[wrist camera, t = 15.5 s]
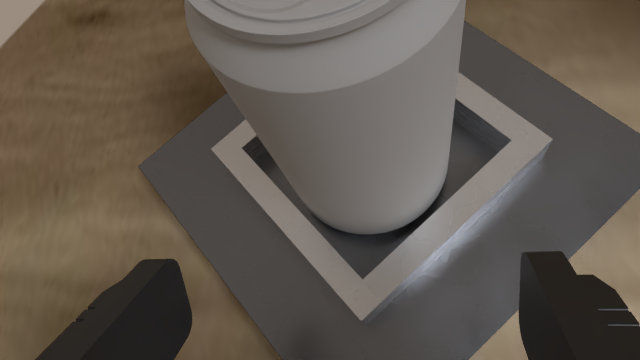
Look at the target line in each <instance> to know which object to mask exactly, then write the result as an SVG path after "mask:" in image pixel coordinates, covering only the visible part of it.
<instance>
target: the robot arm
mask: <svg viewBox="0 0 640 360" xmlns="http://www.w3.org/2000/svg"><path fill="white" fill-rule="evenodd" d="M191 325H192V312H191V308H190V304H189V300H188V297H187V293H186V289H185V285H184V282H183V278H182V274H181V271H180V267H179V265H178V263H177V262H176V261H175V260H174V259H148V260H142V261H141V262H139V263H138V264H137V265H136V266H135V267H134V268H133V270H132V271H131V272H130V273H129V274H128V275H127V276H126V277H125V278H124V279H123V280H121V281H120V282H118V283H117V284H115V285H114V286H112V287H110V288H109V289H107V290H106V291H104V292H102V293H101V294H100V295H99V296H98V297H97V298H96V299H95V300H94V301H93V302H92V303H91V304H90V305H89V306H88V310H84V311H83V312H82V313H81V314H80V315H79V316H78V317H77V318H76V322H72V323H71V324H70V325H69V326H68V327H67V328H66V329H65V330H64V331H63V332H62V333H61V334H60V335H59V336H58V337H57V338H56V339H55V340H54V341H53V342H52V343H51V344H50V345H49V346H48V347H47V348H46V349H45V350H44V351H43V352H42V353H41V354H40V355H39V356H38V357H37V358H36V359H35V360H174V358H175V357H176V355H177V354H178V352H179V350H180V349H181V347H182V346H183V344H184V342H185V341H186V339H187V338H188V336H189V333H190V330H191ZM519 325H520V332H521V337H522V341H523V344H524V347H525V350H526V353H527V356H528V359H529V360H640V326H639V323H638V321H637V320H636V318H635V317H634V316H633V314H632V313H631V312H629V311H628V307H627V306H626V304H625V303H624V302H623V300H622V299H621V297H620V296H619V295H618V293H617V292H616V290H615V289H613V288H612V287H610V286H609V285H607V284H606V283H604V282H603V281H601V280H600V279H598V278H597V277H596V276H594V275H577V274H576V272H575V271H574V269H573V268H572V266H571V264H570V263H569V261H568V259H567V258H566V256H565V255H564V253H563V252H562V251H538V252H523V253H522V256H521V264H520V292H519Z"/></svg>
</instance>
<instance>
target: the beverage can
mask: <svg viewBox="0 0 640 360" xmlns="http://www.w3.org/2000/svg"><path fill="white" fill-rule="evenodd" d="M184 2H185V15H186V23H187V28H188V31H189V33H190V36H191V38H192V40H193V42H194V44H195V46H196V48H197V49H198V51H199V52H200V53H201V55H202V56H203V58H204V59H205V61H206V62H207V64H208V65H209V67H210V68H211V69H212V71H213V72H214V74H215V75H216V77H217V78H218V80H219V81H220V82H221V84H222V85H223V87H224V88H225V90H226V91H227V93H228V94H229V96H230V97H231V98H232V100H233V101H234V103H235V104H236V106H237V107H238V109H239V110H240V111H241V113H242V114H243V116H244V117H245V119H246V120H247V122H248V123H249V125H250V126H251V127H252V129H253V130H254V132H255V133H256V135H257V136H258V138H259V139H260V141H261V142H262V143H263V145H264V146H265V148H266V149H267V151H268V152H269V154H270V155H271V156H272V158H273V159H274V161H275V162H276V164H277V165H278V167H279V168H280V170H281V171H282V172H283V174H284V175H285V177H286V178H287V180H288V181H289V183H290V184H291V185H292V187H293V188H294V190H295V191H296V193H297V194H298V196H299V197H300V199H301V200H302V201H303V203H304V204H305V206H306V207H307V208H308V209H309V210H310V212H311V213H313V214H314V215H315V216H316V217H317V218H318V219H320V220H321V221H322V222H324V223H326V224H327V225H329V226H331V227H333V228H335V229H338V230H341V231H344V232H349V233H354V234H379V233H385V232H389V231H392V230H395V229H398V228H401V227H403V226H405V225H407V224H408V223H410V222H412V221H414V220H415V219H417V218H418V217H419V216H420V215H422V214H423V213H424V212H425V211H426V210H427V209H428V208H429V207H430V206H431V204H432V203H433V202H434V201H435V199H436V197H437V196H438V194H439V192H440V191H441V189H442V186H443V184H444V181H445V178H446V174H447V169H448V160H449V151H450V142H451V133H452V124H453V115H454V106H455V97H456V88H457V79H458V70H459V61H460V52H461V43H462V34H463V25H464V16H465V7H466V0H184Z"/></svg>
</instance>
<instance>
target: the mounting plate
mask: <svg viewBox="0 0 640 360" xmlns="http://www.w3.org/2000/svg"><path fill="white" fill-rule="evenodd" d="M139 168H140V169H141V171H142V172H143V173H144V175H145V176H146V177H147V179H148V180H149V181H150V183H151V184H152V185H153V187H154V188H155V189H156V191H157V192H158V193H159V195H160V196H161V197H162V199H163V200H164V201H165V203H166V204H167V205H168V207H169V208H170V209H171V211H172V212H173V213H174V215H175V216H176V218H177V219H178V220H179V222H180V223H181V224H182V226H183V227H184V228H185V230H186V231H187V232H188V234H189V235H190V236H191V238H192V239H193V240H194V242H195V243H196V244H197V246H198V247H199V248H200V250H201V251H202V252H203V254H204V255H205V256H206V258H207V259H208V260H209V262H210V263H211V265H212V266H213V267H214V269H215V270H216V271H217V273H218V274H219V275H220V277H221V278H222V279H223V281H224V282H225V283H226V285H227V286H228V287H229V289H230V290H231V291H232V293H233V294H234V295H235V297H236V298H237V299H238V301H239V302H240V303H241V305H242V306H243V307H244V309H245V310H246V312H247V313H248V314H249V316H250V317H251V318H252V320H253V321H254V322H255V324H256V325H257V326H258V328H259V329H260V330H261V332H262V333H263V334H264V336H265V337H266V338H267V340H268V341H269V342H270V344H271V345H272V346H273V348H274V349H275V350H276V352H277V353H278V354H279V356H280V357H281V359H282V360H468V359H469V358H470V357H471V356H472V355H473V354H474V353H475V352H476V351H477V350H478V349H479V348H480V347H481V346H482V345H483V344H484V343H485V342H486V341H487V340H488V339H489V338H490V337H491V336H492V335H493V334H494V333H495V332H496V331H497V330H499V329H500V328H501V327H502V326H503V325H504V324H505V323H506V322H507V321H508V320H509V319H510V318H511V317H512V316H513V315H514V314H515V313H516V312H517V311H518V310H519V292H520V264H521V256H522V253H523V252H538V251H562V252H563V253H564V255H565V256H566V258H567V259H568V260H569V259H570V258H571V257H572V256H573V255H574V254H575V253H576V252H577V251H578V250H579V249H580V248H581V247H582V246H583V245H584V244H585V243H586V242H587V241H588V240H589V239H590V238H591V237H592V236H593V235H594V234H595V233H596V232H597V231H598V230H599V229H600V228H601V227H602V226H603V225H604V224H605V223H606V222H607V221H608V220H609V219H610V218H611V217H612V216H613V215H614V214H615V213H616V212H617V211H618V210H619V209H620V208H621V207H622V206H623V205H624V204H625V203H626V202H627V201H628V200H629V199H630V198H631V197H632V196H633V195H634V194H635V193H636V192H637V191H638V190H639V189H640V134H639V133H638V132H636V131H635V130H633V129H632V128H630V127H629V126H627V125H625V124H624V123H622V122H621V121H619V120H618V119H616V118H615V117H613V116H611V115H610V114H608V113H607V112H605V111H604V110H602V109H601V108H599V107H598V106H596V105H594V104H593V103H591V102H590V101H588V100H587V99H585V98H584V97H582V96H580V95H579V94H577V93H576V92H574V91H573V90H571V89H570V88H568V87H567V86H565V85H563V84H562V83H560V82H559V81H557V80H556V79H554V78H553V77H551V76H549V75H548V74H546V73H545V72H543V71H542V70H540V69H539V68H537V67H535V66H534V65H532V64H531V63H529V62H528V61H526V60H525V59H523V58H522V57H520V56H518V55H517V54H515V53H514V52H512V51H511V50H509V49H508V48H506V47H504V46H503V45H501V44H500V43H498V42H497V41H495V40H494V39H492V38H491V37H489V36H487V35H486V34H484V33H483V32H481V31H480V30H478V29H477V28H475V27H473V26H472V25H470V24H469V23H467V22H466V21H464V25H463V34H462V43H461V52H460V61H459V70H458V79H457V88H456V97H455V106H454V115H453V124H452V133H451V142H450V151H449V160H448V169H447V174H446V178H445V181H444V184H443V186H442V189H441V191H440V192H439V194H438V196H437V197H436V199H435V201H434V202H433V203H432V204H431V206H430V207H429V208H428V209H427V210H426V211H425V212H424V213H423V214H422V215H420V216H419V217H418V218H417V219H415V220H414V221H412V222H410V223H408V224H407V225H405V226H403V227H401V228H398V229H395V230H392V231H389V232H385V233H379V234H354V233H349V232H344V231H341V230H338V229H335V228H333V227H331V226H329V225H327V224H326V223H324V222H322V221H321V220H320V219H318V218H317V217H316V216H315V215H314V214H313V213H311V212H310V210H309V209H308V208H307V207H306V206H305V204H304V203H303V201H302V200H301V199H300V197H299V196H298V194H297V193H296V191H295V190H294V188H293V187H292V185H291V184H290V183H289V181H288V180H287V178H286V177H285V175H284V174H283V172H282V171H281V170H280V168H279V167H278V165H277V164H276V162H275V161H274V159H273V158H272V156H271V155H270V154H269V152H268V151H267V149H266V148H265V146H264V145H263V143H262V142H261V141H260V139H259V138H258V136H257V135H256V133H255V132H254V130H253V129H252V127H251V126H250V125H249V123H248V122H247V120H246V119H245V117H244V116H243V114H242V113H241V111H240V110H239V109H238V107H237V106H236V104H235V103H234V101H233V100H232V98H231V97H230V96H229V94H228V93H226V94H224V95H223V96H222V97H221V98H220V99H218V100H217V101H216V102H215V103H214V104H212V105H211V106H210V107H209V108H208V109H206V110H205V111H204V112H203V113H202V114H200V115H199V116H198V117H197V118H196V119H194V120H193V121H192V122H191V123H190V124H188V125H187V126H186V127H185V128H184V129H182V130H181V131H180V132H179V133H178V134H176V135H175V136H174V137H173V138H172V139H170V140H169V141H168V142H167V143H166V144H164V145H163V146H162V147H161V148H160V149H158V150H157V151H156V152H155V153H154V154H152V155H151V156H150V157H149V158H148V159H146V160H145V161H144V162H143V163H142V164H140V165H139Z"/></svg>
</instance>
